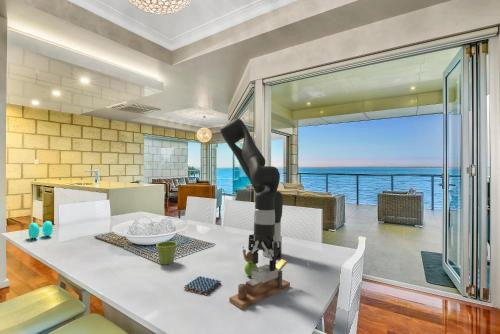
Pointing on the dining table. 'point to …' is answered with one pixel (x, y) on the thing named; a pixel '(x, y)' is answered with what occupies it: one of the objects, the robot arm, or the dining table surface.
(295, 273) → the dining table surface
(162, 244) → the plant pot
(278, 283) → the plane body
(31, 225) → the turquoise egg pair
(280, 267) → the lever
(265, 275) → the grey rough lump
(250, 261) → the green toy figurine
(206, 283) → the woven mat
